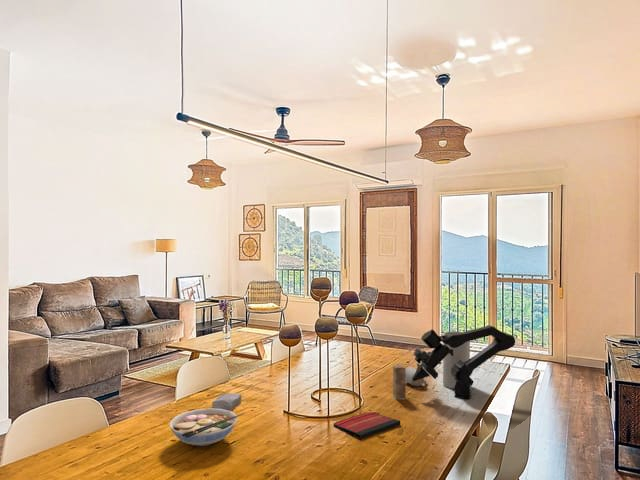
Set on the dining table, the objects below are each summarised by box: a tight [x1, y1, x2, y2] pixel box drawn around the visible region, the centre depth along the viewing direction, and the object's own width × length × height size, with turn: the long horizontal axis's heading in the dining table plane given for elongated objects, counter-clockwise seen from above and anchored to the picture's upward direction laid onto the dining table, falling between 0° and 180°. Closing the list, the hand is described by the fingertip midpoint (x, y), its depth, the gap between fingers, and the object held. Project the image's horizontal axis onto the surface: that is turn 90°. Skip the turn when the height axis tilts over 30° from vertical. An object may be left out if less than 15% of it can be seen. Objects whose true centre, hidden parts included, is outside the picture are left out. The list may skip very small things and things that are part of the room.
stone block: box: [211, 392, 242, 411], centre depth 191 cm, size 12×5×10 cm
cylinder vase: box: [442, 331, 471, 390], centre depth 219 cm, size 12×12×25 cm
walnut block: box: [392, 364, 407, 400], centre depth 201 cm, size 4×4×14 cm
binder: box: [333, 411, 401, 441], centre depth 170 cm, size 16×2×21 cm
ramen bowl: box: [169, 407, 244, 447], centre depth 155 cm, size 25×23×8 cm
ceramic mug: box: [406, 366, 428, 387], centre depth 221 cm, size 11×8×8 cm
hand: (412, 380), depth 202 cm, fingers closed
